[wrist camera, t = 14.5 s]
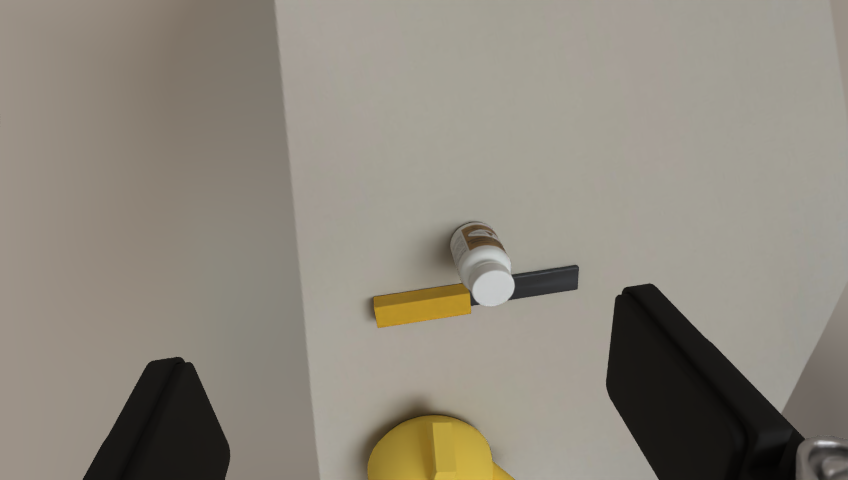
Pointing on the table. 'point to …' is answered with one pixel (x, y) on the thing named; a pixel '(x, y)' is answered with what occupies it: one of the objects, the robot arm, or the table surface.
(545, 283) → the knife
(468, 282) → the pill bottle
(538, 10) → the table surface
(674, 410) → the robot arm
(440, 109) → the table surface
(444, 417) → the teapot
